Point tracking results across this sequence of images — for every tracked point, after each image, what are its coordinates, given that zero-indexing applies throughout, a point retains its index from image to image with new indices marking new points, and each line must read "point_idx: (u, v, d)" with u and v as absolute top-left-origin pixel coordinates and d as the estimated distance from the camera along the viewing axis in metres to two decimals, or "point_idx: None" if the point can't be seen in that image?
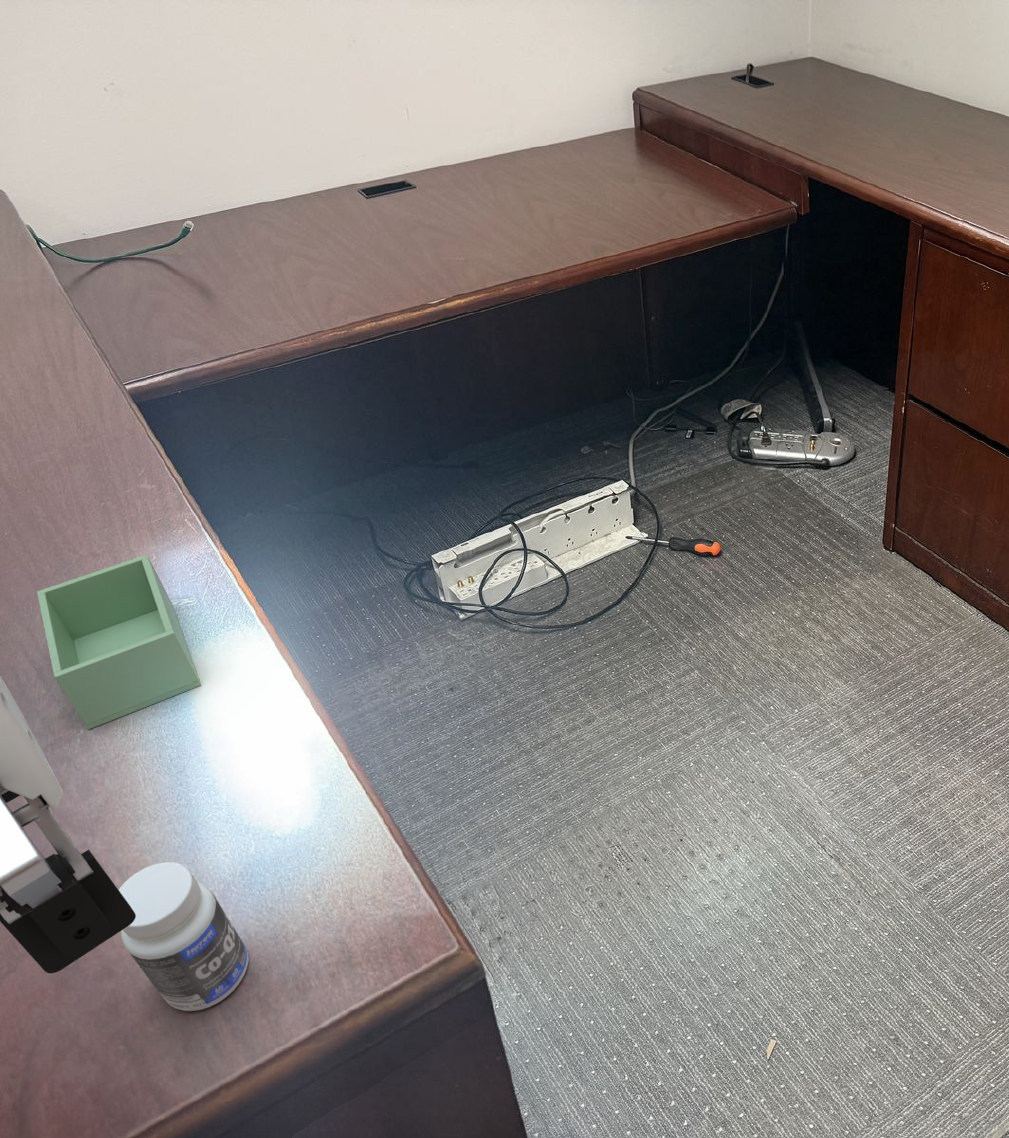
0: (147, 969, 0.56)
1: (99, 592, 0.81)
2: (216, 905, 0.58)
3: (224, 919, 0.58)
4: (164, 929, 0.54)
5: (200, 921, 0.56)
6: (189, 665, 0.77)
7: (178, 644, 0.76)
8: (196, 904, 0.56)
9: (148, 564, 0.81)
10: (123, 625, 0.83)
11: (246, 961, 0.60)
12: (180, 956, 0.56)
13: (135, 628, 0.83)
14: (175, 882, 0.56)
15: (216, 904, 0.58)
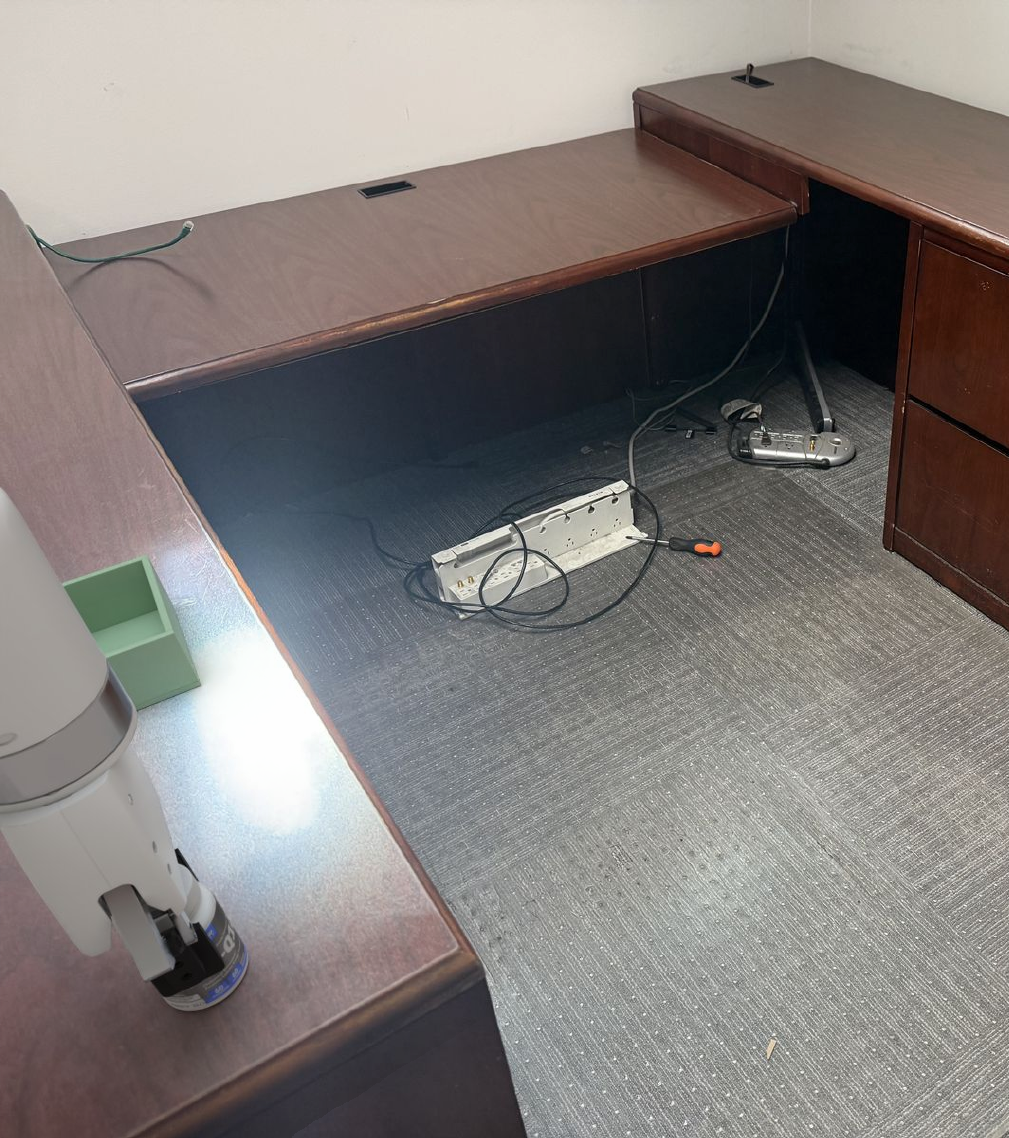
0: None
1: (99, 592, 0.81)
2: (216, 905, 0.58)
3: (224, 919, 0.58)
4: (165, 929, 0.54)
5: (200, 921, 0.56)
6: (189, 665, 0.77)
7: (178, 644, 0.76)
8: (196, 904, 0.56)
9: (148, 564, 0.81)
10: (123, 625, 0.83)
11: (246, 961, 0.60)
12: None
13: (135, 628, 0.83)
14: None
15: (216, 904, 0.58)
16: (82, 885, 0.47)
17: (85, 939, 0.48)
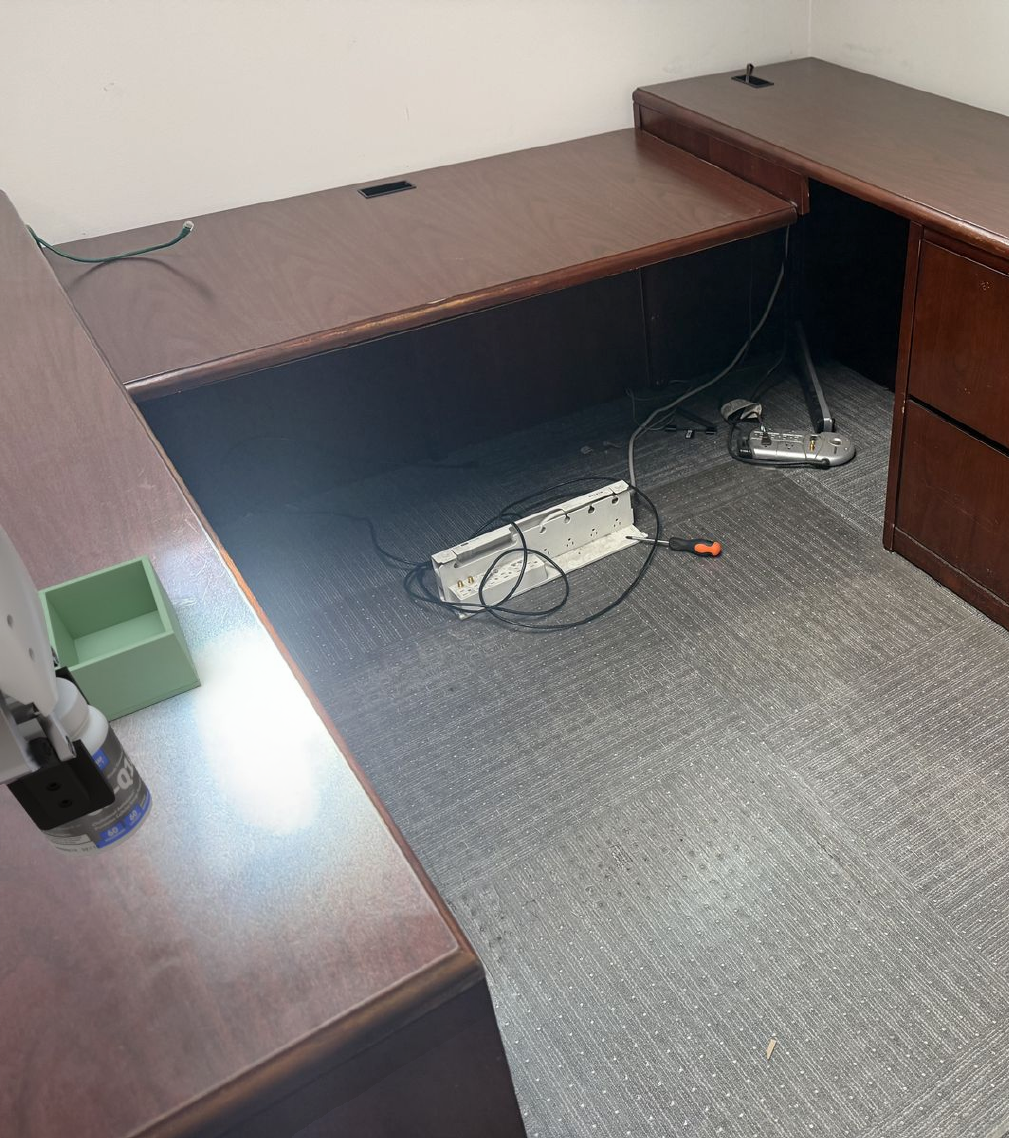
0: None
1: (99, 592, 0.81)
2: (109, 731, 0.50)
3: (119, 750, 0.50)
4: None
5: (86, 743, 0.48)
6: (189, 665, 0.77)
7: (178, 644, 0.76)
8: (82, 723, 0.48)
9: (148, 564, 0.81)
10: (123, 625, 0.83)
11: (148, 806, 0.52)
12: None
13: (135, 628, 0.83)
14: None
15: (109, 730, 0.50)
16: None
17: None
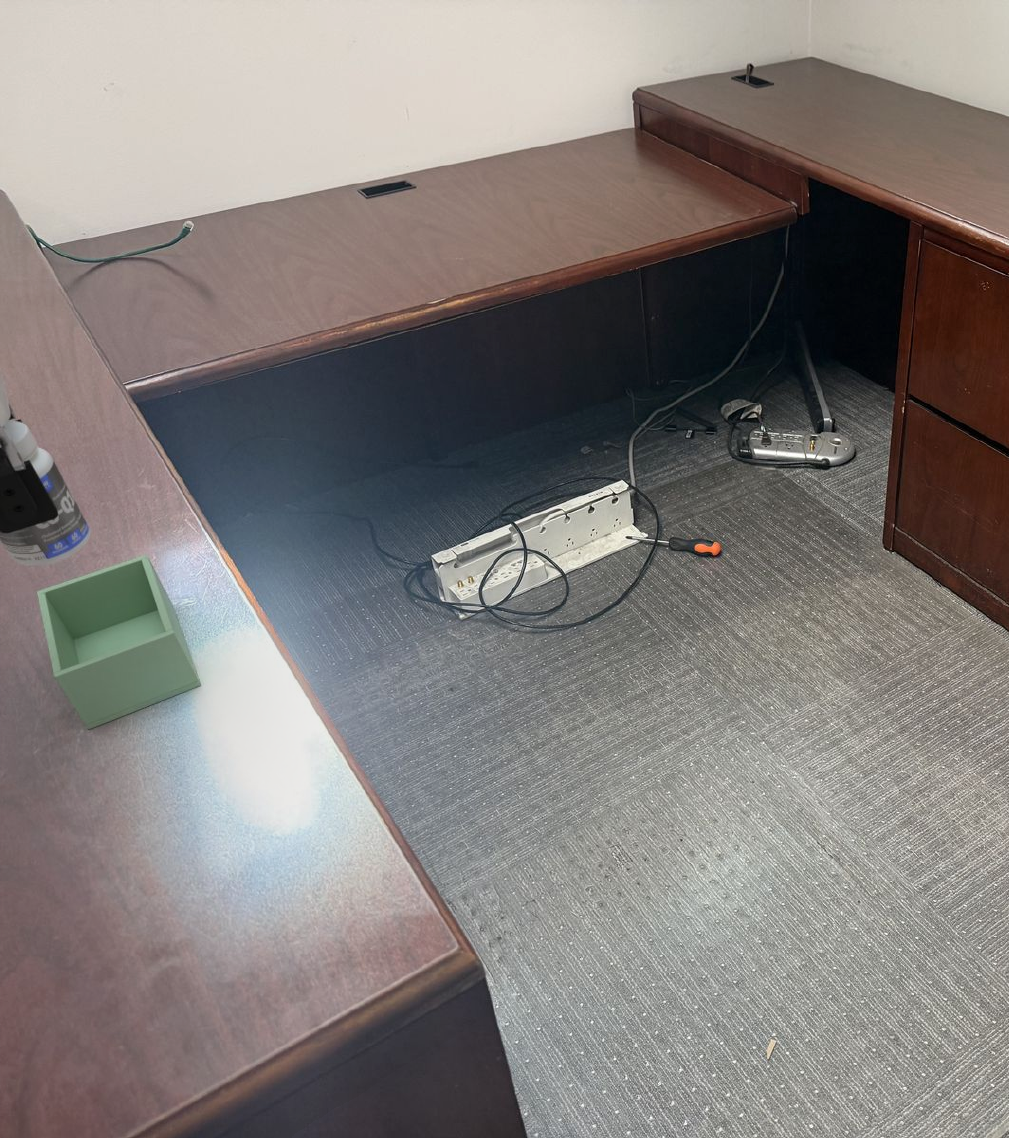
0: None
1: (99, 592, 0.81)
2: (53, 464, 0.65)
3: (62, 482, 0.66)
4: None
5: (35, 468, 0.63)
6: (189, 665, 0.77)
7: (178, 644, 0.76)
8: (31, 452, 0.63)
9: (148, 564, 0.81)
10: (123, 625, 0.83)
11: (87, 534, 0.68)
12: None
13: (135, 628, 0.83)
14: (12, 431, 0.63)
15: (53, 464, 0.65)
16: None
17: None
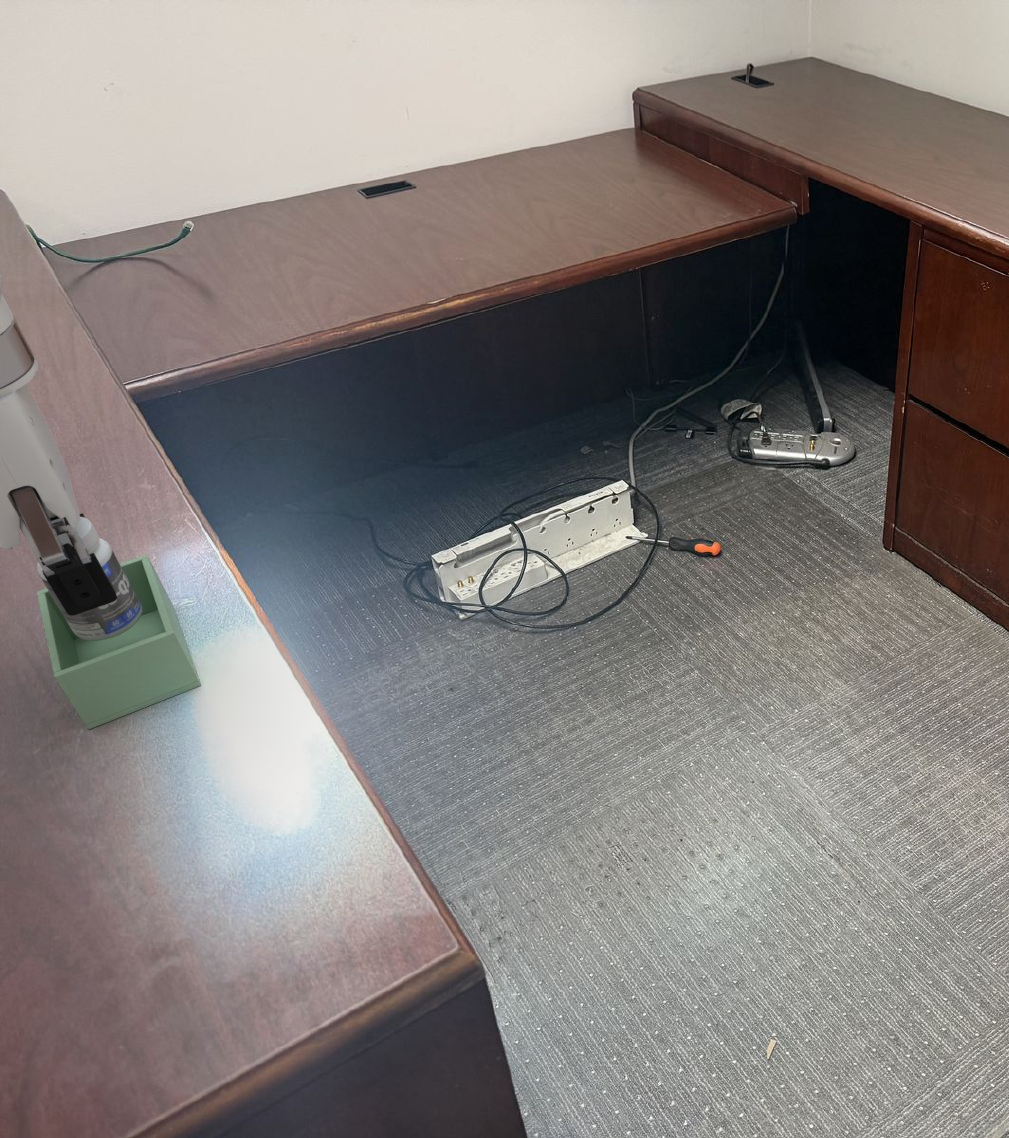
0: None
1: None
2: (112, 553, 0.74)
3: (119, 567, 0.75)
4: None
5: (98, 558, 0.73)
6: (189, 665, 0.77)
7: (178, 644, 0.76)
8: (94, 544, 0.73)
9: (148, 564, 0.81)
10: None
11: (139, 610, 0.77)
12: None
13: (135, 628, 0.83)
14: (78, 526, 0.73)
15: (112, 553, 0.74)
16: None
17: None
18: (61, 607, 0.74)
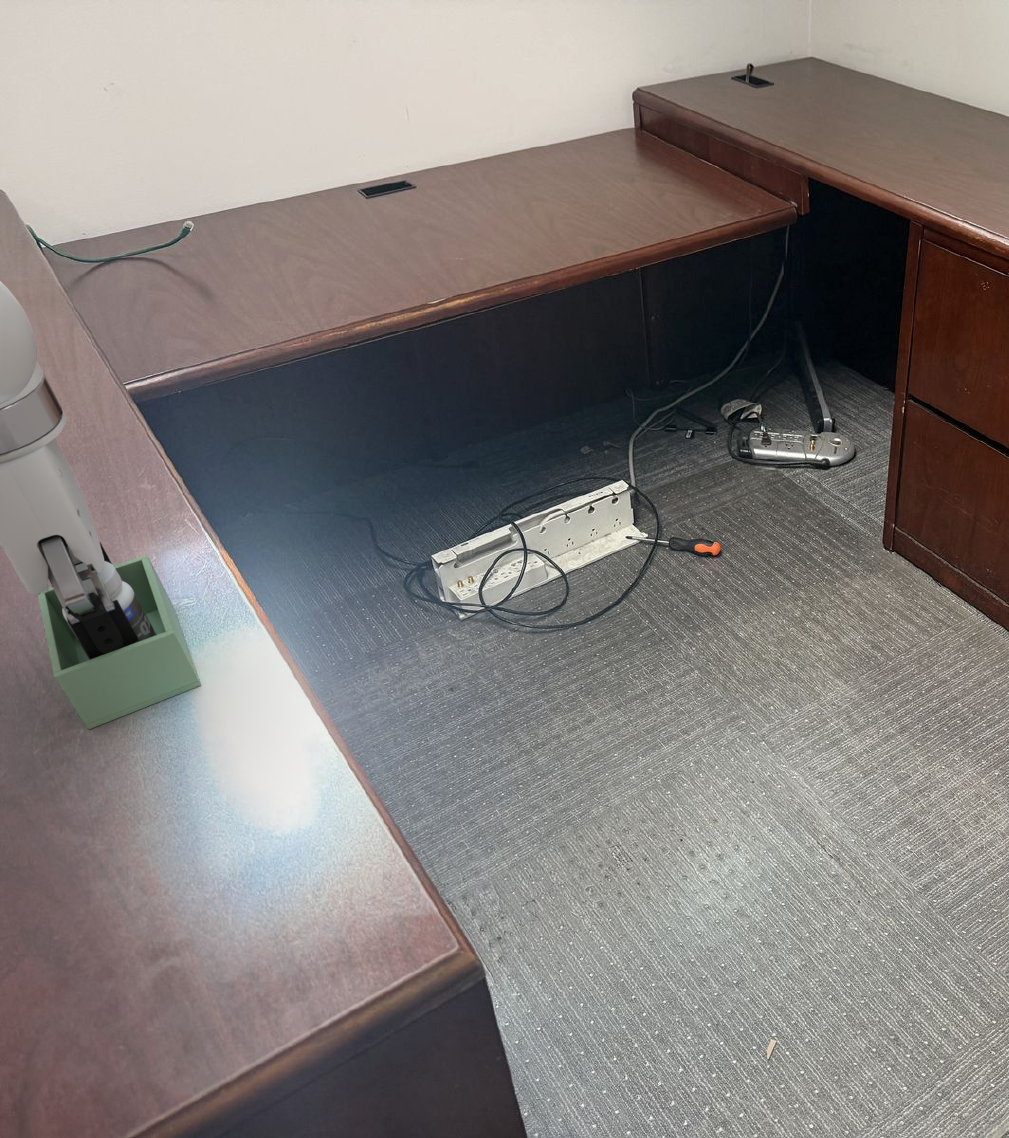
0: None
1: None
2: (134, 596, 0.77)
3: (141, 609, 0.78)
4: None
5: (121, 601, 0.76)
6: (189, 665, 0.77)
7: (178, 644, 0.76)
8: (118, 588, 0.75)
9: (148, 564, 0.81)
10: None
11: None
12: None
13: None
14: (102, 571, 0.75)
15: (134, 595, 0.77)
16: (25, 529, 0.66)
17: (28, 576, 0.68)
18: None
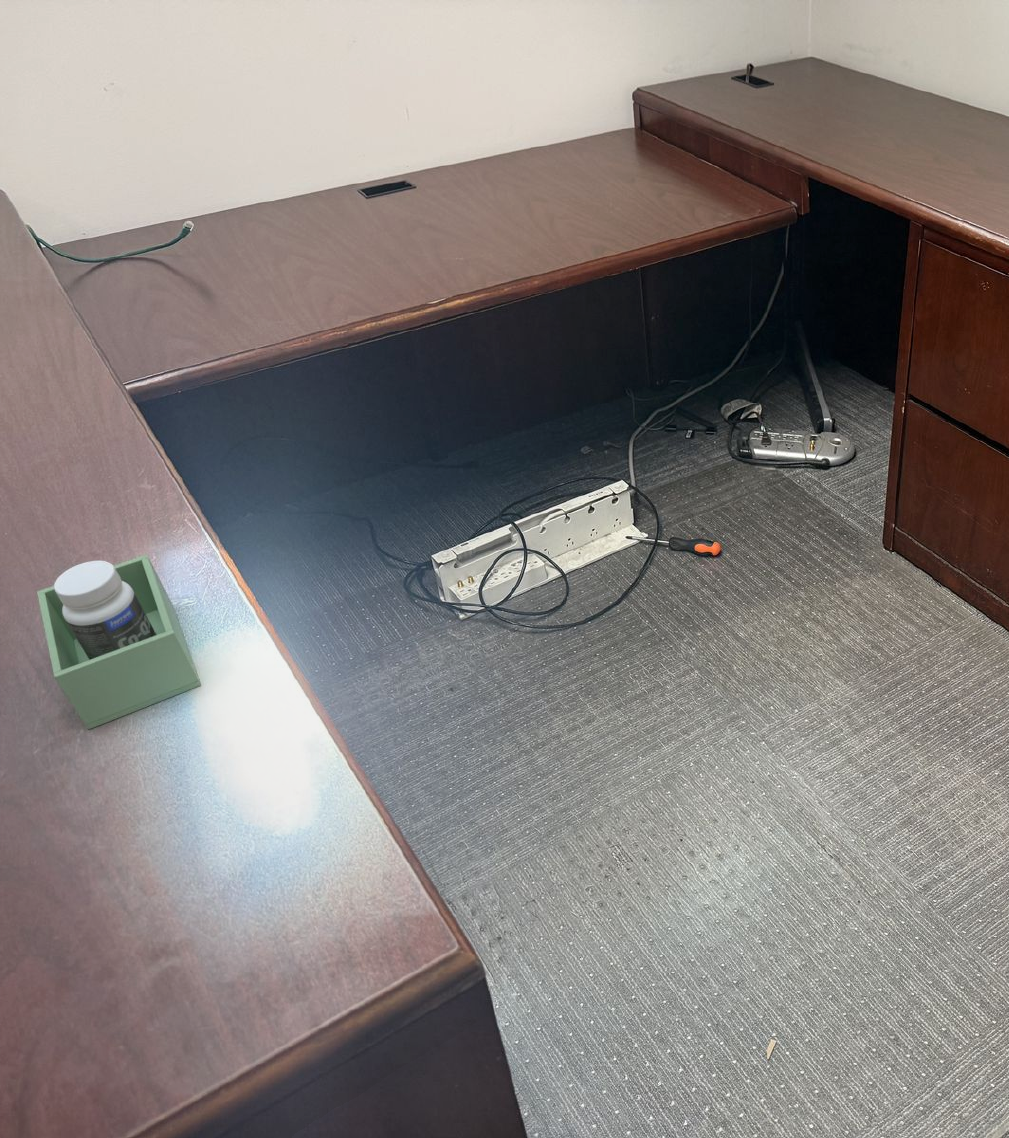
0: (81, 636, 0.75)
1: None
2: (134, 596, 0.77)
3: (141, 609, 0.78)
4: (92, 600, 0.74)
5: (121, 601, 0.76)
6: (189, 665, 0.77)
7: (178, 644, 0.76)
8: (117, 588, 0.75)
9: (148, 564, 0.81)
10: None
11: None
12: (105, 625, 0.75)
13: None
14: (102, 571, 0.75)
15: (134, 595, 0.77)
16: None
17: None
18: (85, 648, 0.76)
